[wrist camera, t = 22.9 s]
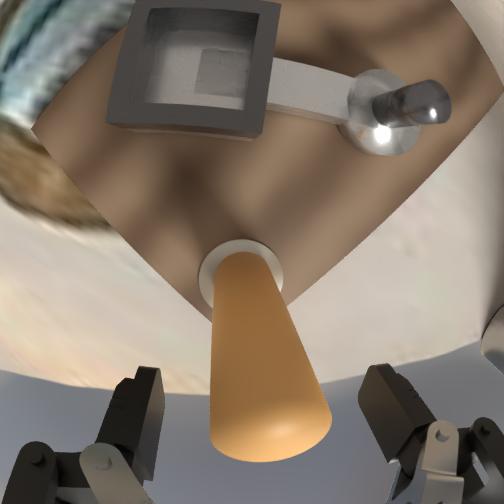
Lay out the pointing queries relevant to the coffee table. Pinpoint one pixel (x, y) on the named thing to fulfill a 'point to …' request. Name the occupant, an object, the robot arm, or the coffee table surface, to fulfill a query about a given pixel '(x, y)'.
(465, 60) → the base
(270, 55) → the lever
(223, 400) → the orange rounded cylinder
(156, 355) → the coffee table surface
